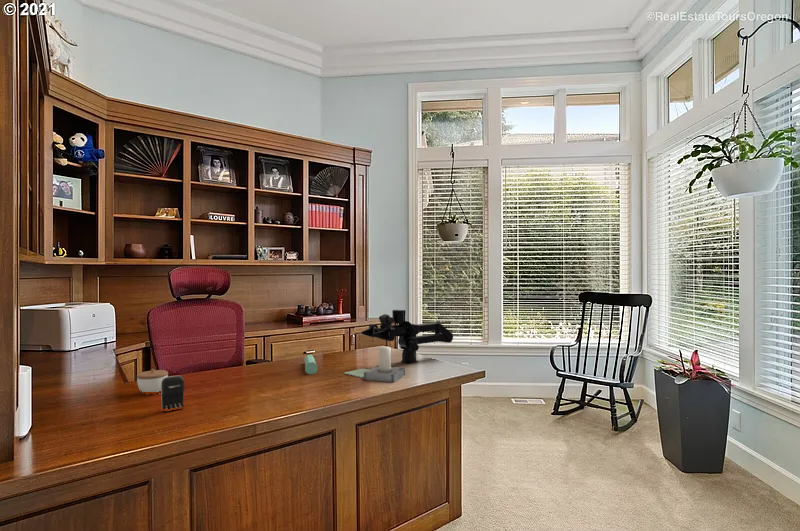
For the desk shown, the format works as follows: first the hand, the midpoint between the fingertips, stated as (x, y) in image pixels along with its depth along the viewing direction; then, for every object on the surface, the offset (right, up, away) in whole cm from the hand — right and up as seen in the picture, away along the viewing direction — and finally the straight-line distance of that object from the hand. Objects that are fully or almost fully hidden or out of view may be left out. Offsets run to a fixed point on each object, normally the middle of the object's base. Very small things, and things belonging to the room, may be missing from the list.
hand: (366, 333), depth 223 cm
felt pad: (-1, -17, -10) cm, 19 cm away
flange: (+9, -16, -17) cm, 25 cm away
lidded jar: (-80, -17, -40) cm, 91 cm away
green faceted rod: (-27, -17, +2) cm, 32 cm away
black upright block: (-62, -17, -62) cm, 89 cm away
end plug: (+9, -16, -17) cm, 25 cm away
